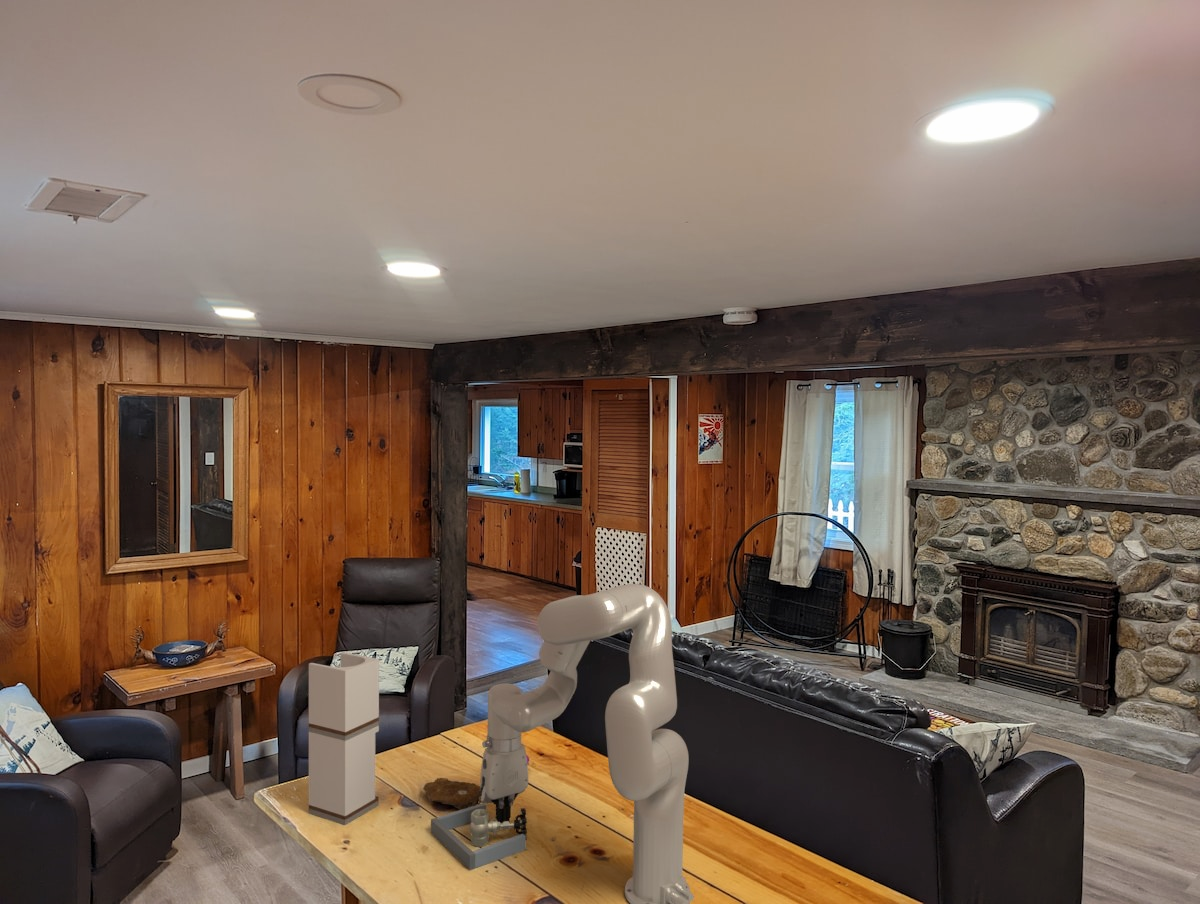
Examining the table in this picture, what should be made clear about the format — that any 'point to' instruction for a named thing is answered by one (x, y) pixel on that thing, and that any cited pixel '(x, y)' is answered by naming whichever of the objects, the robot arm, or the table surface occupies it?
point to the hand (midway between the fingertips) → (503, 822)
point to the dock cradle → (461, 851)
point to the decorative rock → (453, 793)
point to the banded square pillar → (343, 737)
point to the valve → (493, 826)
